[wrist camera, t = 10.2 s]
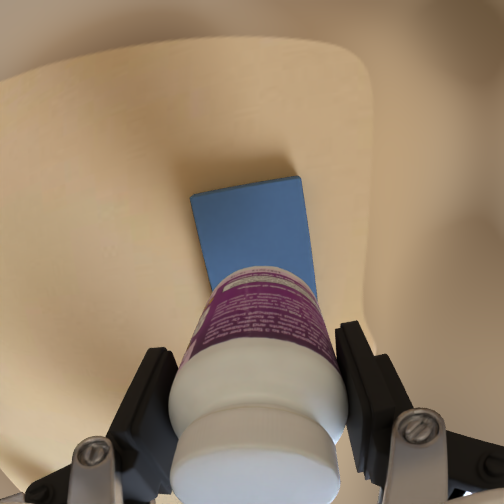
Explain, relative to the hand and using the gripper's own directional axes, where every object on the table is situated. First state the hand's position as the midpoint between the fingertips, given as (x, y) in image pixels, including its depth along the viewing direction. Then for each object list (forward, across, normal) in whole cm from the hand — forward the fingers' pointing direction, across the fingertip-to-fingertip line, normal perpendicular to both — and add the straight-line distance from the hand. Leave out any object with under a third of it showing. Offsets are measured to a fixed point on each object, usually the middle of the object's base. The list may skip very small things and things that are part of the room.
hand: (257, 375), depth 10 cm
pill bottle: (+5, 0, +1) cm, 5 cm away
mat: (+10, 0, 0) cm, 10 cm away
